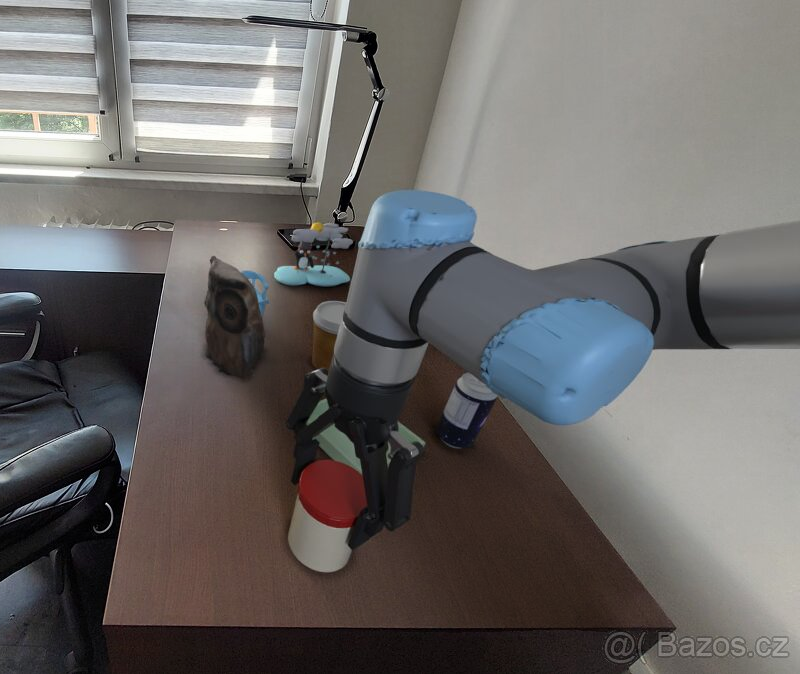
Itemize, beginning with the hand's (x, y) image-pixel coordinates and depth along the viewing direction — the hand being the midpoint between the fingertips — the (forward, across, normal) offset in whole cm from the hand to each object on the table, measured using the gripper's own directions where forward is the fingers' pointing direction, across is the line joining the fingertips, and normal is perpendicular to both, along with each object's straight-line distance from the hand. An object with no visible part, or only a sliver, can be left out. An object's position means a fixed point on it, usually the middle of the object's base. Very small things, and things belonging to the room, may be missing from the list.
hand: (327, 508), depth 55 cm
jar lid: (-4, 0, 0) cm, 4 cm away
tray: (+7, +11, -18) cm, 22 cm away
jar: (+7, 0, 0) cm, 7 cm away
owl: (+7, +38, -13) cm, 41 cm away
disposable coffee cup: (+7, +28, -28) cm, 40 cm away
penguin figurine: (+7, +58, -50) cm, 77 cm away
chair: (+7, +48, -22) cm, 53 cm away
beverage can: (+7, +3, -32) cm, 33 cm away
